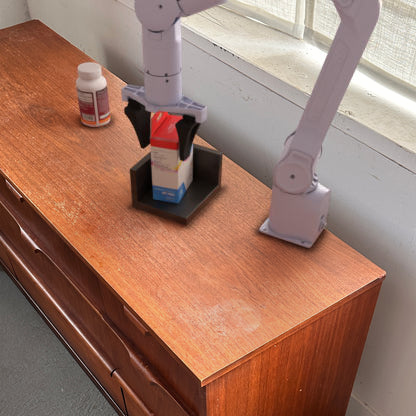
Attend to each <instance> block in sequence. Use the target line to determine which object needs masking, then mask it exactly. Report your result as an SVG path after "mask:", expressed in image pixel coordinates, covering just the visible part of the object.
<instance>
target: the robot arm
mask: <svg viewBox="0 0 416 416" xmlns="http://www.w3.org/2000/svg"><path fill="white" fill-rule="evenodd" d="M330 1H331V2H332V4H333V6H334V8H335V10H336V12H337V14H338V17H339V18H340V23H339V25H338V27H337V30H336V32H335V35H334V36H333V39H332V41H331V44H330V47H329V49H328V52H327V54H326V57H325V59H324V61H323V64H322V66H321V69H320V70H319V73H318V76H317V79H316V81H315V83H314V85H313V88H312V91H311V93H310V96H309V98H308V100H307V103H306V105H305V107H304V110H303V112H302V115H301V118H300V119H299V122H298V124H297V126H296V127H295V130H293V131H292V132H291V133H290V134H289V135H288V136H286V138H285V140H284V143H283V148H282V149H281V153H280V155H279V158H278V160H277V161H276V163H275V165H274V167H273V171H272V178H273V180H272V186H271V196H270V205H269V214H268V217H267V218H266V220H265V221H264V222H263V223H262V224H261V225H260V227H259V229H258V231H259V233H262V234H266V235H267V236H270V237H274V238H277V239H280V240H283V241H286V242H288V243H292V244H294V245H298V246H301V247H304V248H307V249H310V248H311V247H312V246H313V245H314V243H315V242H316V240H317V239H318V238H319V236H320V235H321V234H322V232H323V230H324V229H325V227H326V226H327V218H328V213H329V209H330V202H331V198H332V191H331V189H330V188H327V187H325V186H324V185H322V184H321V183H320V181H319V177H318V174H317V167H318V165H319V161H320V159H321V157H322V155H323V150H324V147H323V143H324V141H325V138H326V136H327V134H328V131H329V130H330V127H331V125H332V122H333V120H334V119H335V116H336V113H338V109H339V107H340V105H341V103H342V101H343V99H344V96H345V94H346V92H347V90H348V88H349V85H350V83H351V80H352V79H353V76H354V74H355V73H356V70H357V68H358V65H359V63H360V62H361V59H362V57H363V55H364V52H365V51H366V48H367V46H368V43H369V41H370V39H371V37H372V35H373V33H374V31H375V29H376V26H377V24H378V21H379V19H380V15H381V11H382V8H383V0H330ZM228 2H229V0H134V4H133V5H134V6H133V7H134V13H135V16H136V18H137V19H138V22H139V23H140V24H141V45H142V64H143V84H144V86H140V85H139V86H138V85H133V84H126V85H124V86H123V87H121V89H120V93H121V101H122V102H125V103H127V105H126V106H124V107H123V113H124V115H125V116H126V118H127V119H128V120H129V122H130V124H131V125H132V127H133V130H134V132H135V135H136V137H137V140H138V144H139V147H140V149H143V150H144V149H146V148H147V147H148V146H150V121H151V118H152V113H153V114H155V113H157V112H158V111H162V112H168V113H172V114H175V115H177V116H182V117H183V118H182V119H180V120H179V121H178V122H177V123H175V127H176V130H177V134H178V139H179V157H180V160H181V161H185V160H186V159H187V158H188V157H189V156H190V151H191V147H192V144H193V143H194V140H195V137H196V135H197V133H198V130H199V129H200V126H201V125H202V123H204V122H205V121H206V120H207V119H208V106H207V105H204V104H201V103H199V102H198V101H195V100H194V99H192V98H190V97H189V96H187V95H185V94H183V85H182V84H183V81H182V79H183V75H182V73H183V72H182V71H183V70H182V18H188V17H191V16H194V15H196V14H199V13H203V12H205V11H207V10H210V9H213V8H215V7H218V6H220V5H223V4H226V3H228Z"/></svg>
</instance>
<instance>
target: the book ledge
mask: <svg viewBox="0 0 416 416" xmlns="http://www.w3.org/2000/svg"><path fill="white" fill-rule="evenodd" d="M223 153H224V152H223V151H220V150H217V149H213V148H211V147H207V146H205V145H201V144H197V143H195V142H193V180H192V182H191V184H190V185H189V187H188V188H187V190H186V192H185V193H184V195H183V197H182V198H181V200H180V202H179V203H178V204H176V203H171V202H166V201H161V200H155V199H153V186H152V165H151V150H150V151H148V153H147V154H145V156H143V157H142V158H141V159H140V160H138V161H136V163H135V164H134V165H132V166H131V167H130V168H129V179H130V193H131V206H132V208H133V209H136V210H140V211H142V212H145V213H148V214H151V215H154V216H157V217H160V218H163V219H166V220H169V221H170V222H171V221H172V222H175V223H176V224H180V225H183V226H188V224H190V223H191V221H193V219H194V218H195V217H196V216H198V214H200V212H201V211H202V210H203V209H204V208H205V207H206V206H207V205H208V204H209V203H210V201H212V199H213V198H214V197H216V195H217V194H218V193H219V192H220V191H221V190H222V176H223V175H222V174H223V156H224V154H223Z"/></svg>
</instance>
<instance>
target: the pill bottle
mask: <svg viewBox="0 0 416 416" xmlns="http://www.w3.org/2000/svg"><path fill="white" fill-rule="evenodd" d="M77 75H78V77H77V78H76V81H75V88H76V94H77V102H78V109H79V116H80V121H81V123H82V124H83V125H85V126H86V127H91V128H98V127H103V126H106V125H107V124H108V123H110V121H111V110H110V100H109V90H108V82H107V79H106V77H105V76H104V75H103V71H102V66H101V64H99V63H96V62H91V61H89V62H88V61H87V62H83V63H80V64H79V65H78V66H77Z"/></svg>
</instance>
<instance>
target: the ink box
mask: <svg viewBox="0 0 416 416" xmlns="http://www.w3.org/2000/svg"><path fill="white" fill-rule="evenodd" d="M160 114H161V115H160ZM182 118H183V116H182V115H176V114H175V115H173V114H169V112H162V111H158V112H157V113H153V115H152V116H151V121H150V144H149V147H150V151H151V165H152V186H153V199H155V200H161V201H166V202H171V203H176V204H178V203H179V202H180V200H181V198H182V197H183V195H184V193H185V192H186V190H187V188H188V187H189V185H190V184H191V182H192V180H193V144H192V147H191V151H190V156H189V157H188V158H187V159H186V160H185V161H181V160H180V157H179V139H178V134H177V130H176V127H175V123H177V122H178V121H179V120H180V119H182Z"/></svg>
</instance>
